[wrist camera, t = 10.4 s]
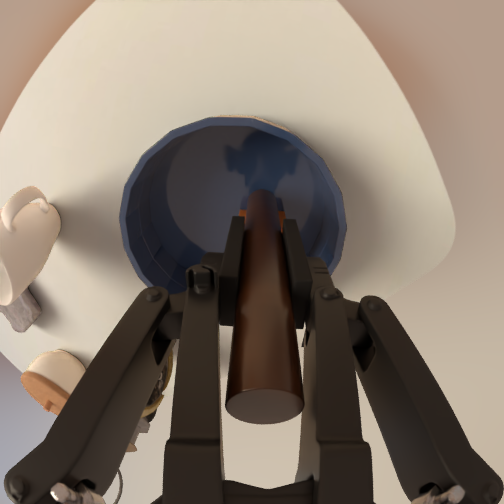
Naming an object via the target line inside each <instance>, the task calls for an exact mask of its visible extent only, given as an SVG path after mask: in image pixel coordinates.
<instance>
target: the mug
mask: <svg viewBox="0 0 504 504" xmlns="http://www.w3.org/2000/svg"><path fill="white" fill-rule="evenodd" d="M37 198H39V199H40V203H29V202H31V201H33V200H35V199H37ZM60 228H61V220H60V216H59V214H58V212H57V210H56V209H55V208H54V207H53V206H52V205H51V204H49V203H48V202H47V199H46V197H45V196H44V194H43V193H42V192H41V191H40V190H39V189H38V188H37V187H34V186H28V187H26V188H23V189H22V190H20V191H18V192H17V193H16V194H14V195H13V196H12V197H11V198H10V199H9V200H8V202H7V203H6V204H5V206H4V207H3V208H2V209H0V305H4V306H7V305H10V304H11V303H13V302H14V301H15V300H16V299H17V298H18V297H19V296H20V294H21V293H22V292H23V291H24V290H25V289H26V288H27V287H28V286H29V285H30V284H31V282H32V281H33V280H34V279H35V278H36V277H37V276H38V274H39V273H40V272H41V270H42V269H43V267H44V265H45V263H46V261H47V259H48V257H49V254H50V252H51V250H52V247H53V245H54V243H55V240H56V238H57V236H58V234H59V231H60Z"/></svg>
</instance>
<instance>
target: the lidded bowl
mask: <svg viewBox="0 0 504 504" xmlns="http://www.w3.org/2000/svg"><path fill="white" fill-rule="evenodd" d="M85 371H86V369H85V367H84V366H83V364H82V363H81V362H80V361H79V360H78V359H77V358H76V357H74V356H73V355H71V354H70V353H68V352H66V351H63V350H55V351H47V352H44V353H42V354H40V355H38V356H37V357H36V358H35V359H34V360H33V361H32V362H31V364H30V365H29V366H28V368H27V370H26V371H25V372H24V373H23V375H22V376H21V382H22V384H23V386H24V388H25V389H26V390H27V392H28V393H29V394H30V395H31V396H32V397H33V398H34V399H35V400H36V401H37V402H38V403H40V404H41V405H42V406H43V408H44V410H46V411H48V412H49V411H51V412H53V413H54V414H56V415H59V413H60V412H61V410H62V408H63V406H64V405H65V403H66V402H67V400H68V398H69V397H70V395H71V393H72V392H73V390H74V389H75V387H76V385H77V384H78V382H79V381H80V379H81V377H82V376H83V374H84V373H85Z"/></svg>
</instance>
